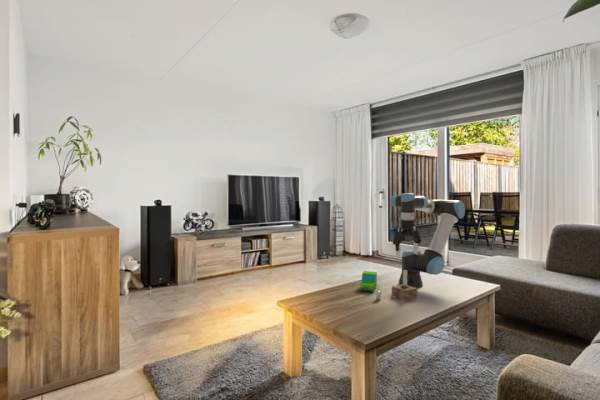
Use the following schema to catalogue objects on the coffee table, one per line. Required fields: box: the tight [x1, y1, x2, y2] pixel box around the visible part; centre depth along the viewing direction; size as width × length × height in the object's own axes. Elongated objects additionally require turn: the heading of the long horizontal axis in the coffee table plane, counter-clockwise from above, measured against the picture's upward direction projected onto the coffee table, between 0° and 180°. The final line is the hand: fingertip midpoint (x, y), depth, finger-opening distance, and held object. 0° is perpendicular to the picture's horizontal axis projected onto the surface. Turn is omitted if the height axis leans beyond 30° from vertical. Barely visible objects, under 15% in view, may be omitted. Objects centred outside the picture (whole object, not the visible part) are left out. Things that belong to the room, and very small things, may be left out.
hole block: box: [391, 284, 418, 302], centre depth 200 cm, size 10×10×6 cm
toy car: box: [359, 270, 378, 293], centre depth 214 cm, size 10×13×10 cm
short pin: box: [375, 290, 382, 302], centre depth 195 cm, size 2×2×5 cm
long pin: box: [403, 270, 407, 289], centre depth 200 cm, size 2×2×16 cm
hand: (407, 255), depth 200 cm, fingers open, 13 cm apart
